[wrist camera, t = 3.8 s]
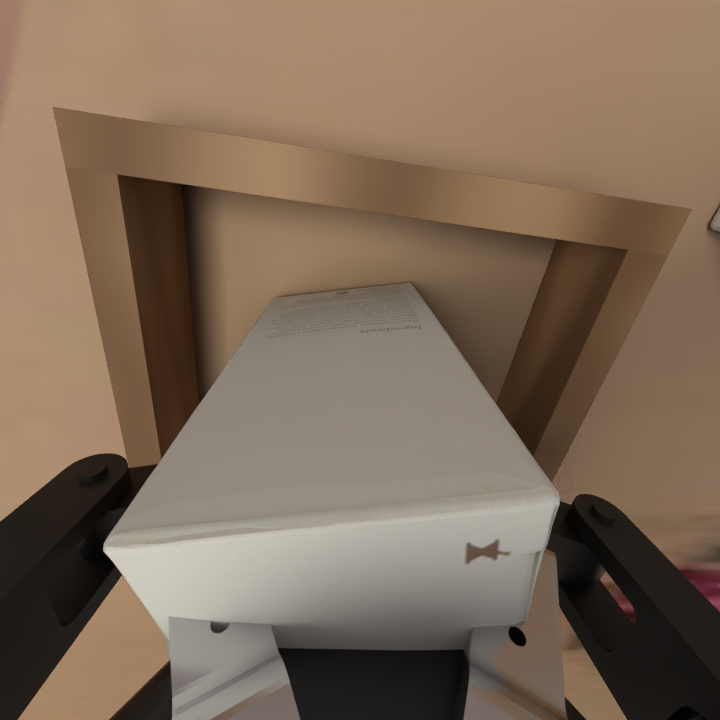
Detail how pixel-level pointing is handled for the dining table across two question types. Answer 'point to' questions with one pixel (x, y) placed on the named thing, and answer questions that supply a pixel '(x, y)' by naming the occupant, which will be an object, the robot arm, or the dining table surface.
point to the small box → (342, 487)
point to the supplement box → (716, 221)
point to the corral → (354, 191)
